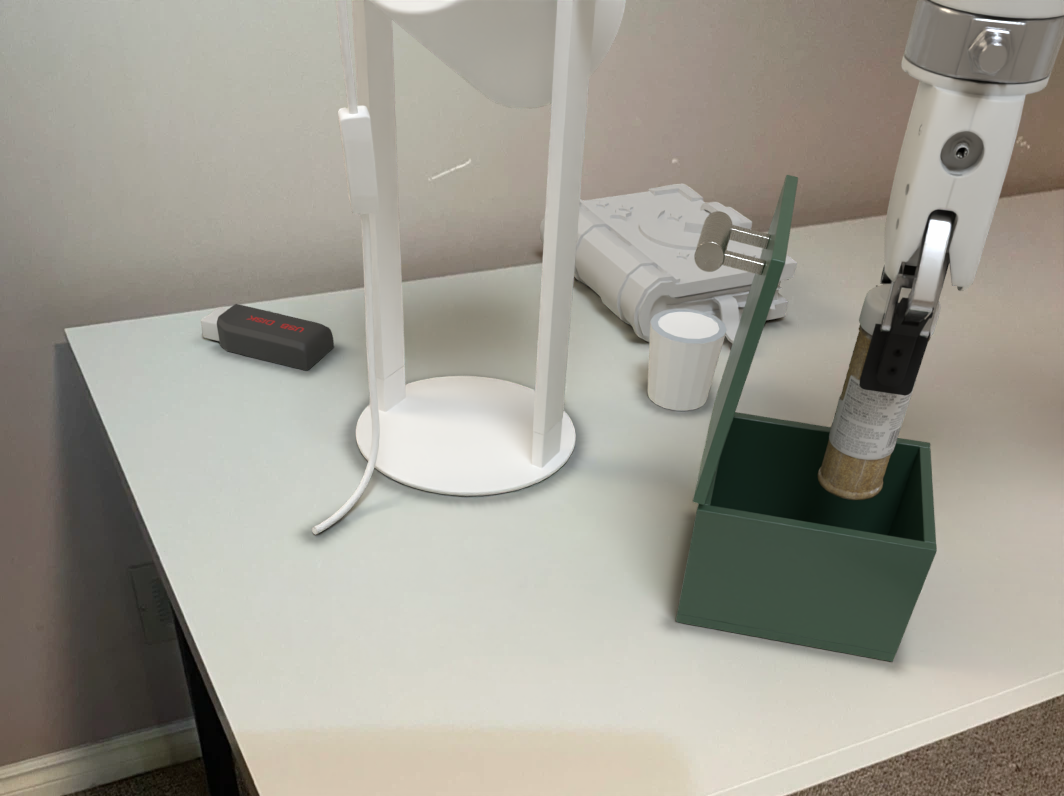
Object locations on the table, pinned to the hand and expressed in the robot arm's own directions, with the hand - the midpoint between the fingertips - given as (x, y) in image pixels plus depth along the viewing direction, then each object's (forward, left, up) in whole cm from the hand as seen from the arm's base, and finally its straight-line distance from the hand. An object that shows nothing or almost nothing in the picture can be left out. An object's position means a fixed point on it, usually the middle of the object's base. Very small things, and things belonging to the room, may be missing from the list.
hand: (885, 366), depth 69 cm
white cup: (+14, -26, -18) cm, 35 cm away
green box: (+2, 0, -18) cm, 18 cm away
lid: (+9, 0, 0) cm, 9 cm away
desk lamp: (+32, -10, -18) cm, 38 cm away
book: (+18, -47, -18) cm, 53 cm away
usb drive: (+54, -23, -18) cm, 62 cm away
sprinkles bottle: (0, 0, -9) cm, 9 cm away
